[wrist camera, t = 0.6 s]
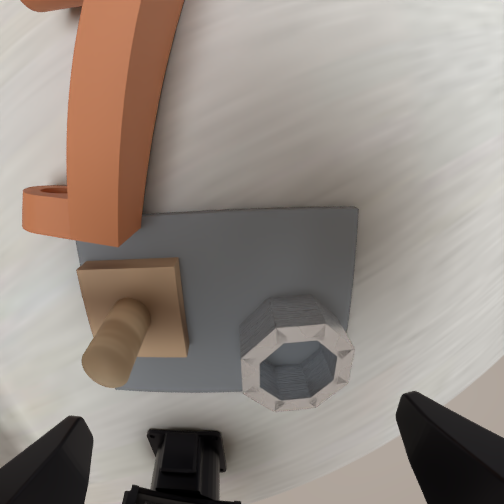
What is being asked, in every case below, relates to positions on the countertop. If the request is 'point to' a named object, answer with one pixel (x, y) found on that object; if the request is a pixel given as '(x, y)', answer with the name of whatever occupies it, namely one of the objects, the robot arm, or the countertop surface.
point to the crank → (106, 120)
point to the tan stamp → (131, 315)
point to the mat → (238, 282)
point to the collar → (295, 375)
